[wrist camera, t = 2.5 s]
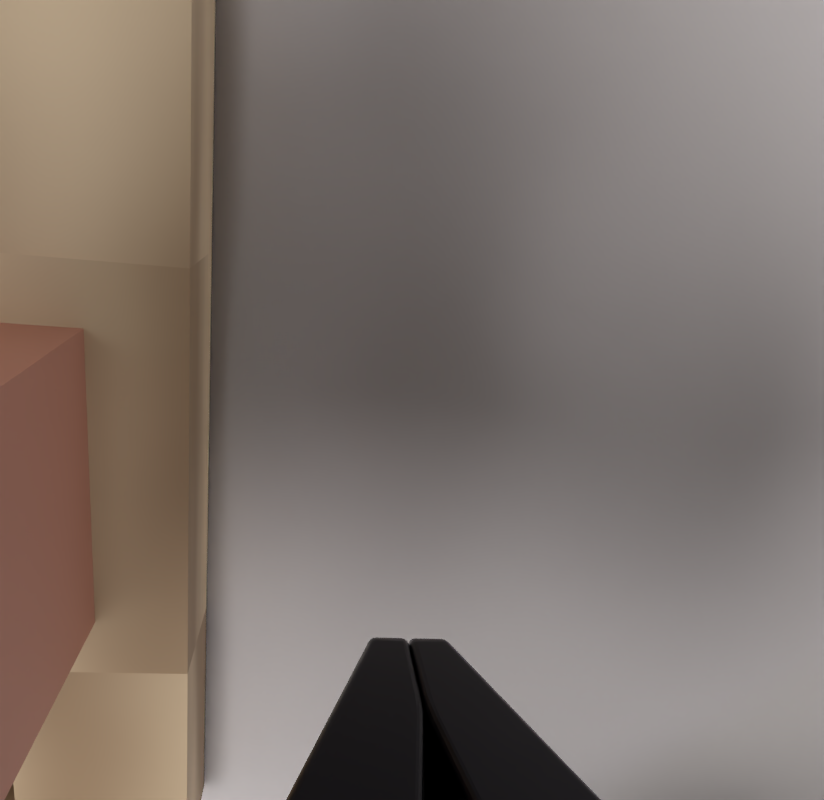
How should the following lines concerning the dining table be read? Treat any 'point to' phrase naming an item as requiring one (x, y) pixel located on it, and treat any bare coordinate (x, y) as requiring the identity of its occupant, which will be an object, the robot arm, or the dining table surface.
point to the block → (41, 528)
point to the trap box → (121, 360)
